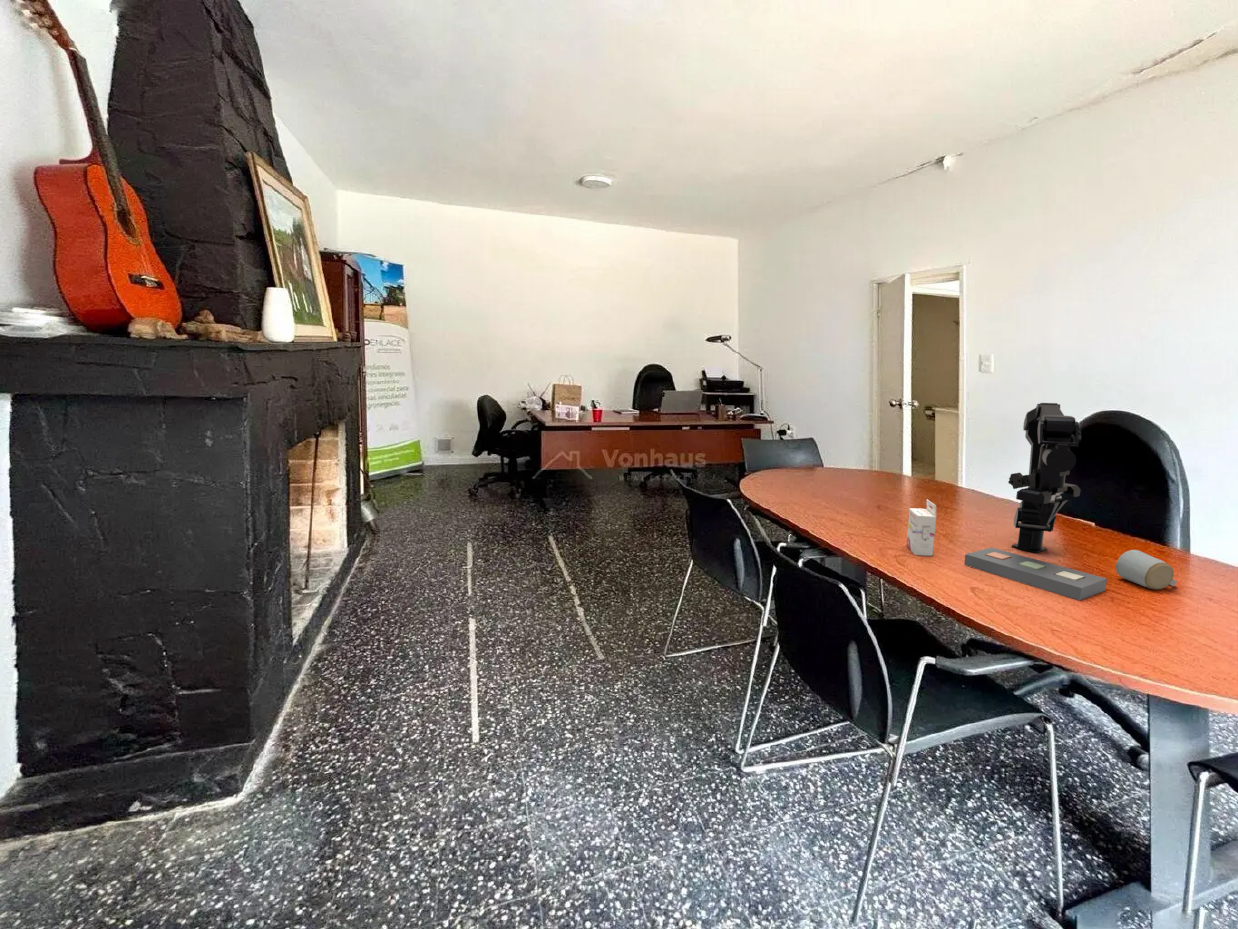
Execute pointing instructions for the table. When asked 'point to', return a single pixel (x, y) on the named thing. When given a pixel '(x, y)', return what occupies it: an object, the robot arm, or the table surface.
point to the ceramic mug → (1145, 570)
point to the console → (1037, 574)
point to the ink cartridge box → (922, 530)
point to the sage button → (1032, 565)
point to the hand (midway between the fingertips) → (1044, 525)
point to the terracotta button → (998, 556)
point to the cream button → (1069, 576)
